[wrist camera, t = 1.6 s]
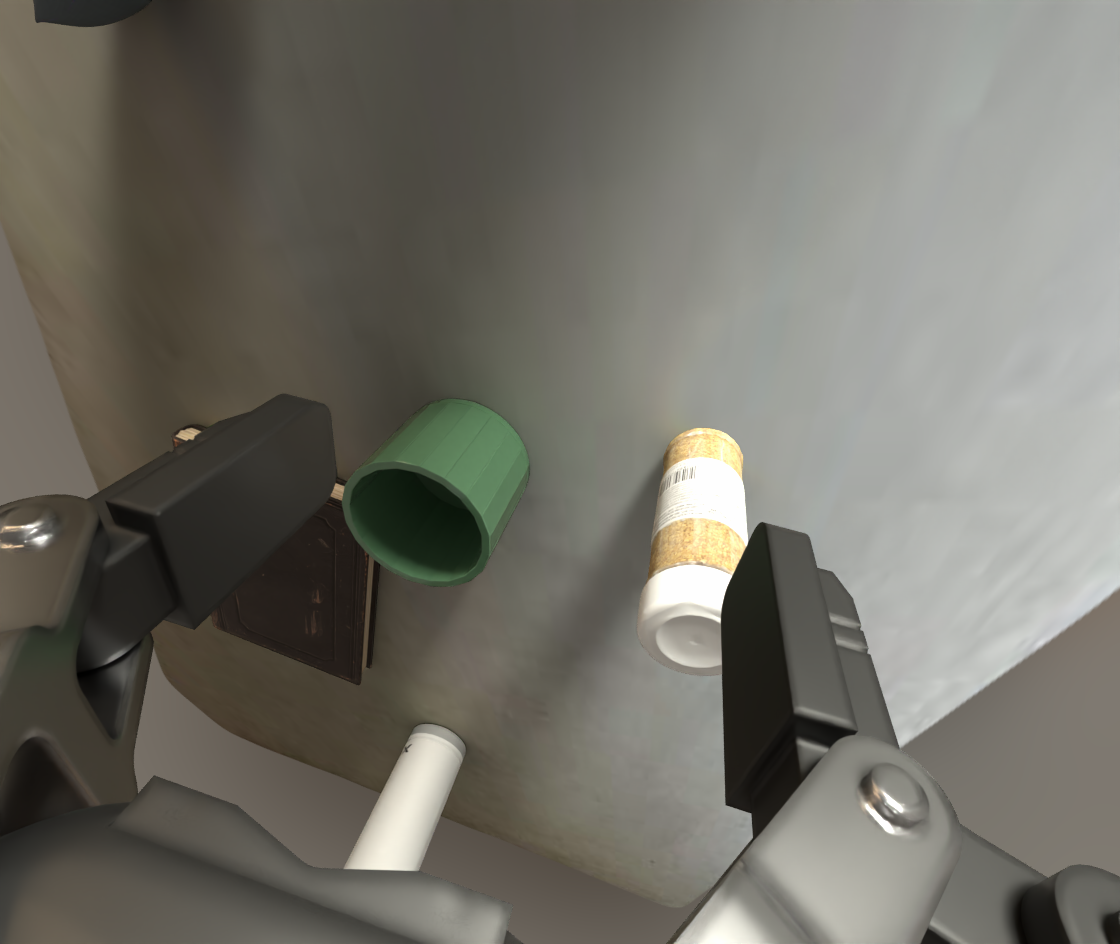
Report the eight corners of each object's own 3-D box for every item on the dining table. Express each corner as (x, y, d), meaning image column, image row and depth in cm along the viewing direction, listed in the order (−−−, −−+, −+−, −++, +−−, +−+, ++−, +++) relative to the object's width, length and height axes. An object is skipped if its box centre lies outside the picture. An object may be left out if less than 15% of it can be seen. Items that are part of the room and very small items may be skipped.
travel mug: (402, 718, 57) (278, 955, 41) (457, 726, 55) (349, 978, 39) (421, 751, 60) (312, 983, 44) (473, 760, 58) (379, 1005, 42)
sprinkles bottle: (678, 497, 33) (658, 685, 22) (652, 436, 31) (616, 608, 20) (754, 480, 31) (772, 676, 20) (731, 414, 29) (738, 591, 18)
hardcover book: (385, 496, 39) (369, 515, 37) (371, 666, 53) (359, 686, 51) (190, 421, 40) (165, 436, 38) (226, 607, 53) (208, 625, 52)
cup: (478, 376, 32) (421, 437, 26) (554, 488, 35) (520, 566, 29) (381, 429, 36) (312, 492, 30) (457, 525, 39) (409, 600, 33)
